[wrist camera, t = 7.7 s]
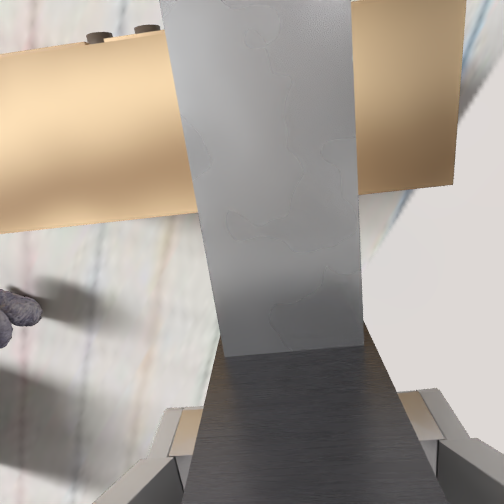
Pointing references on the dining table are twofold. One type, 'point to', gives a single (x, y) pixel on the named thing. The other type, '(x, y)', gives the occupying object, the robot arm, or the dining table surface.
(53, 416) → the dining table surface
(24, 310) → the grey lumpy tall piece
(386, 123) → the cabinet
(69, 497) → the dining table surface
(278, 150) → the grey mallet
